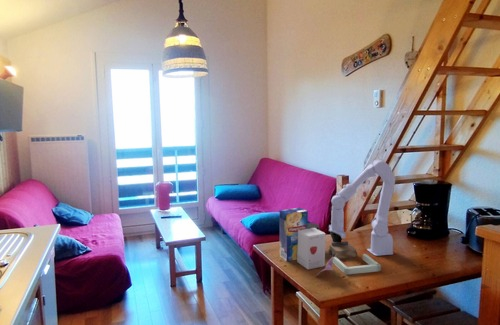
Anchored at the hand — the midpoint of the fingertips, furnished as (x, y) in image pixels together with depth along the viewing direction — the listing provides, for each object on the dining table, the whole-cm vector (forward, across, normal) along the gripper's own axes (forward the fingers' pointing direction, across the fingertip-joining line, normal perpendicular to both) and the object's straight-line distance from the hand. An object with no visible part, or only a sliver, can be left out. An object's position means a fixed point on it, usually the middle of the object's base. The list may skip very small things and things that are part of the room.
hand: (336, 247), depth 177 cm
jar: (+1, -4, -12) cm, 13 cm away
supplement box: (+1, +13, -18) cm, 22 cm away
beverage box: (+1, +3, -23) cm, 23 cm away
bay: (+1, +19, 0) cm, 19 cm away
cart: (+2, +6, 0) cm, 6 cm away
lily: (+2, +25, -15) cm, 29 cm away
